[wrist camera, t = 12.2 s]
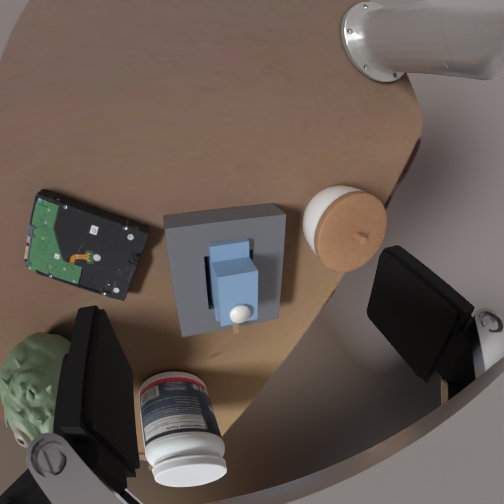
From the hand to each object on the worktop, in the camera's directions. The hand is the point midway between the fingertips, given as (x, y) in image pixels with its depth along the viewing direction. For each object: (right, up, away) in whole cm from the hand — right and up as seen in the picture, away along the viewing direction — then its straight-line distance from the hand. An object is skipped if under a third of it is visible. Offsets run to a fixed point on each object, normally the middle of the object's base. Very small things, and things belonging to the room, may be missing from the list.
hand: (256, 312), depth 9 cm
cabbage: (-31, -13, +28) cm, 44 cm away
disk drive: (-21, +3, +24) cm, 32 cm away
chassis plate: (-4, 0, +31) cm, 31 cm away
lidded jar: (+10, +8, +32) cm, 35 cm away
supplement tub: (-15, -23, +40) cm, 49 cm away
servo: (-4, 0, +31) cm, 31 cm away
